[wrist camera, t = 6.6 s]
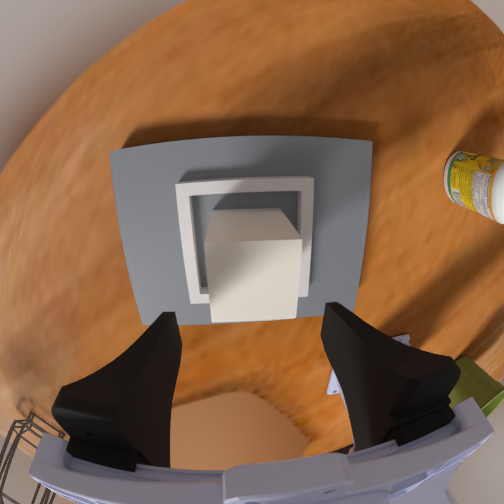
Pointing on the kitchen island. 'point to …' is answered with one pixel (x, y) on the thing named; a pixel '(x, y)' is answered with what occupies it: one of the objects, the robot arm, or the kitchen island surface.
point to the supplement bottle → (476, 183)
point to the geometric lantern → (12, 449)
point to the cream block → (252, 265)
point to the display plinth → (240, 197)
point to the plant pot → (476, 387)
